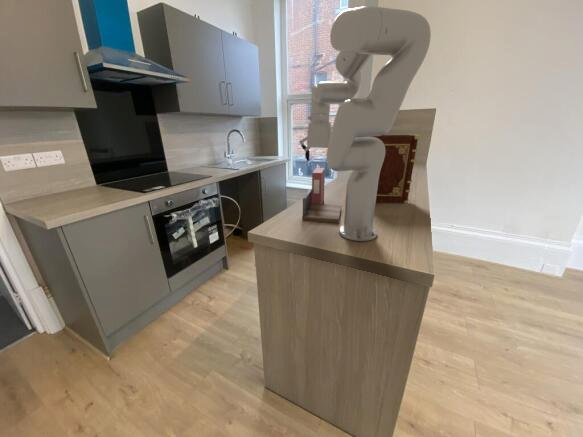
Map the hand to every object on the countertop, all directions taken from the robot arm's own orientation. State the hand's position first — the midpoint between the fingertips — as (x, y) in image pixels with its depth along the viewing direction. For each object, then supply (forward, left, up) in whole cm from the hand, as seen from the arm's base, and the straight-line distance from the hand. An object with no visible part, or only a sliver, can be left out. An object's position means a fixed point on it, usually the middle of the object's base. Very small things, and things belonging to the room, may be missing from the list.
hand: (318, 160), depth 107 cm
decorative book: (+11, -30, -20) cm, 38 cm away
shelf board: (-14, -4, -20) cm, 25 cm away
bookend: (-14, +2, -18) cm, 23 cm away
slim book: (0, 0, -20) cm, 20 cm away
